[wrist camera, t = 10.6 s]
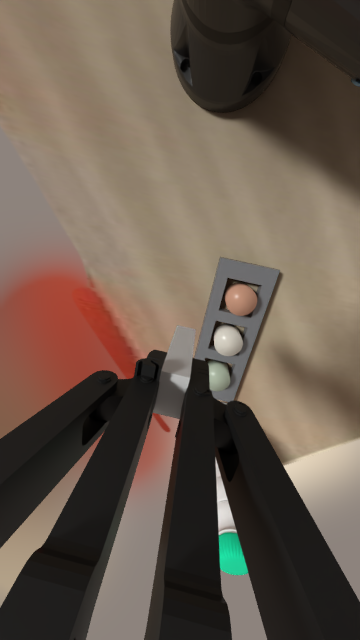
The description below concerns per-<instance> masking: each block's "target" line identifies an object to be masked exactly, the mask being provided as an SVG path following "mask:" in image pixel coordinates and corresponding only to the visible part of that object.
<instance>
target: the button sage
mask: <svg viewBox="0 0 360 640" xmlns="http://www.w3.org/2000/svg"><path fill="white" fill-rule="evenodd" d="M207 364H208V365H209V382H210V390H212V391H222V390H225V389H226V388H227V387H228V386H229V384H230V375H229V370H228V366H227V364H226V362H222V361H218V360H213V359H211V360H209V361H208V362H207Z"/></svg>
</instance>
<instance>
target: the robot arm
mask: <svg viewBox="0 0 360 640" xmlns="http://www.w3.org/2000/svg"><path fill="white" fill-rule="evenodd" d="M291 34H292V35H294V36H295V37H296V38H298V39H299V40H301V41H302V42H303V43H305V44H306V45H307V46H309V47H310V48H311V49H313V50H314V51H315V52H317V53H318V54H319V55H321V56H322V57H324V58H325V59H326V60H328V61H329V62H330V63H332V64H333V65H334V66H336V67H337V68H338V69H340V70H341V71H343V72H344V73H345V74H347V75H348V76H349V77H351V82H352V83H353V84H354V85H356V86H358V87H360V0H174V2H173V8H172V15H171V47H172V53H173V59H174V65H175V69H176V72H177V75H178V78H179V80H180V83H181V85H182V86H183V88H184V90H185V91H186V93H187V94H188V95H189V96H190V98H191V99H192V100H193V101H195V102H196V103H197V104H198V105H200V106H201V107H203V108H205V109H208V110H211V111H215V112H230V111H234V110H237V109H240V108H242V107H244V106H246V105H248V104H249V103H251V102H252V101H254V100H255V99H256V98H257V97H258V96H259V95H261V94H262V92H263V91H264V90H265V89H266V88H267V87H268V85H269V84H270V83H271V81H272V79H273V78H274V76H275V74H276V73H277V71H278V69H279V67H280V64H281V62H282V59H283V57H284V55H285V52H286V50H287V47H288V44H289V41H290V37H291ZM195 331H196V329H192V328H188V327H183V326H179V325H177V327H176V330H175V333H174V336H173V339H172V341H171V344H170V347H169V350H168V353H167V352H163V351H159V350H153V351H151V352H150V353H149V354H148V356H147V358H145V359H140V360H138V361H137V362H136V368H135V374H134V377H133V378H131V379H118V377H117V375H116V374H115V373H113V372H111V371H103V370H102V371H97V372H95V373H93V374H92V375H90V376H89V377H88V378H86V379H85V380H83V381H82V382H80V383H79V384H78V385H76V386H75V387H73V388H72V389H70V390H69V391H68V392H66V393H65V394H64V395H62V396H61V397H59V398H58V399H56V400H55V401H53V402H52V403H51V404H50V405H48V406H46V407H45V408H44V409H42V410H41V411H39V412H38V413H37V414H35V415H34V416H32V417H31V418H29V419H28V420H27V421H25V422H24V423H22V424H21V425H19V426H18V427H17V428H15V429H14V430H12V431H11V432H9V433H8V434H7V435H5V436H4V437H3V438H1V439H0V548H1V547H2V546H3V545H4V543H5V542H6V541H7V540H8V539H9V538H10V537H11V535H12V534H13V533H14V532H15V531H16V530H17V529H18V528H19V526H20V525H21V524H22V523H23V522H24V521H25V520H26V519H27V518H28V516H29V515H30V514H31V513H32V512H33V511H34V510H35V508H36V507H37V506H38V505H39V504H40V503H41V502H42V501H43V500H44V498H45V497H46V496H47V495H48V494H49V493H50V492H51V491H52V489H53V488H54V487H55V486H56V485H57V484H58V483H59V482H60V480H61V479H62V478H63V477H64V476H65V475H66V474H67V473H68V471H69V470H70V469H71V468H72V467H73V466H74V464H75V463H76V462H77V461H78V460H79V459H80V458H81V457H82V456H83V455H84V454H85V452H86V451H87V450H88V449H89V448H90V447H91V445H93V443H94V442H95V441H96V440H97V439H98V438H99V437H100V436H101V434H102V433H103V432H104V431H105V432H104V434H103V435H102V437H101V439H100V441H99V443H98V445H97V447H96V449H95V450H94V452H93V454H92V456H91V458H90V460H89V462H88V463H87V466H86V467H85V469H84V471H83V473H82V475H81V477H80V478H79V481H78V482H77V484H76V486H75V488H74V490H73V492H72V493H71V495H70V497H69V499H68V501H67V503H66V505H65V506H64V508H63V510H62V512H61V514H60V516H59V518H58V520H57V522H56V523H55V525H54V527H53V529H52V531H51V533H50V535H49V536H48V538H47V540H46V542H45V543H44V544H43V546H42V547H41V548H39V549H38V550H36V551H35V552H34V553H33V554H32V555H31V557H30V558H29V559H28V561H27V562H26V564H25V565H24V567H23V569H22V570H21V572H20V574H19V575H18V577H17V579H16V581H15V583H14V584H13V586H12V588H11V590H10V592H9V593H8V595H7V597H6V599H5V600H4V602H3V604H2V606H1V608H0V640H86V637H87V633H88V629H89V625H90V621H91V617H92V613H93V610H94V606H95V603H96V600H97V596H98V593H99V589H100V586H101V583H102V580H103V577H104V573H105V570H106V567H107V563H108V560H109V557H110V554H111V550H112V547H113V543H114V541H115V537H116V534H117V531H118V527H119V524H120V521H121V518H122V514H123V511H124V507H125V504H126V501H127V498H128V495H129V491H130V488H131V484H132V481H133V478H134V475H135V472H136V468H137V465H138V462H139V458H140V455H141V452H142V449H143V445H144V442H145V439H146V435H147V432H148V429H149V425H150V422H151V418H152V413H157V414H161V415H165V416H170V417H174V418H178V419H180V420H179V424H178V428H177V432H176V435H175V437H176V441H175V448H174V454H173V461H172V467H171V474H170V480H169V487H168V493H167V500H166V506H165V513H164V519H163V525H162V532H161V538H160V544H159V551H158V557H157V564H156V570H155V577H154V583H153V589H152V596H151V603H150V609H149V616H148V622H147V627H146V633H145V638H144V640H232V634H231V624H230V615H229V610H228V606H227V603H226V601H225V600H224V598H223V595H222V591H221V576H220V553H219V530H218V507H217V484H216V461H217V464H218V468H219V471H220V475H221V478H222V482H223V485H224V489H225V492H226V496H227V499H228V503H229V506H230V510H231V513H232V517H233V520H234V524H235V527H236V531H237V534H238V538H239V541H240V545H241V548H242V552H243V556H244V559H245V563H246V566H247V570H248V573H249V577H250V580H251V583H252V587H253V590H254V594H255V598H256V601H257V605H258V608H259V612H260V615H261V619H262V622H263V626H264V629H265V633H266V636H267V640H360V602H359V600H358V598H357V596H356V594H355V593H354V591H353V589H352V588H351V586H350V584H349V582H348V580H347V578H346V577H345V575H344V573H343V571H342V570H341V568H340V566H339V564H338V562H337V561H336V559H335V557H334V555H333V554H332V552H331V550H330V548H329V547H328V545H327V543H326V541H325V539H324V538H323V536H322V534H321V532H320V530H319V529H318V527H317V525H316V523H315V522H314V520H313V518H312V516H311V515H310V513H309V511H308V509H307V508H306V506H305V504H304V502H303V500H302V499H301V497H300V495H299V493H298V492H297V490H296V488H295V486H294V484H293V483H292V481H291V479H290V477H289V475H288V474H287V472H286V470H285V469H284V467H283V465H282V463H281V461H280V459H279V458H278V456H277V454H276V452H275V451H274V449H273V447H272V445H271V443H270V442H269V440H268V438H267V436H266V435H265V433H264V431H263V429H262V428H261V426H260V424H259V422H258V420H257V419H256V417H255V415H254V413H253V412H252V410H251V409H250V408H249V407H248V406H247V405H246V404H244V403H242V402H239V401H230V402H228V403H227V405H226V404H224V403H222V402H220V401H218V400H217V399H215V398H214V397H213V394H212V391H211V390H210V382H209V365H208V364H207V362H206V361H203V360H199V359H195V358H192V357H193V349H194V340H195ZM215 457H216V460H215Z"/></svg>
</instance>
